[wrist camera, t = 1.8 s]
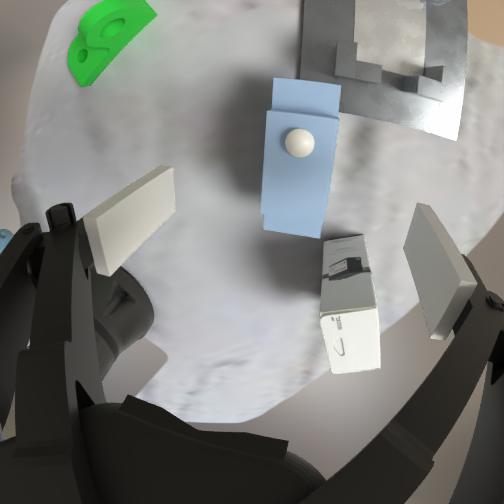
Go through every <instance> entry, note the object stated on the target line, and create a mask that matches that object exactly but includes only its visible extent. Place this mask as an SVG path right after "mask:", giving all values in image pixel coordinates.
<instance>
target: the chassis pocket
mask: <svg viewBox="0 0 504 504" xmlns="http://www.w3.org/2000/svg"><path fill="white" fill-rule="evenodd" d="M467 28H468V22H467V0H304V17H303V35H302V52H301V67H300V80H306V81H314V82H322V83H329V84H335V85H341V92H340V102H339V112H342V113H348V114H353V115H359V116H364V117H369V118H374V119H378V120H383V121H387V122H392V123H396V124H400V125H404V126H408V127H412V128H415V129H419V130H423V131H426V132H430V133H433V134H436V135H440V136H443V137H446V138H449V139H452V140H455V141H456V138H457V133H458V127H459V122H460V115H461V109H462V101H463V93H464V85H465V74H466V60H467V33H468V29H467Z"/></svg>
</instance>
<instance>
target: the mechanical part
mask: <svg viewBox="0 0 504 504" xmlns="http://www.w3.org/2000/svg"><path fill="white" fill-rule="evenodd" d="M156 16H157V14H156V13H155V12H154V10H153V9H152V8H151V7H150V6H149V4H148V3H147V2H146V1H145V0H104V1H102V2H100V3H98V4H96V5H95V6H93V7H92V8H91V9H90V10H89V11H88V12H87V13H86V14H85V15H84V16H83V17H82V19H81V21H80V23H79V26H78V31H79V34H78V35H77V37H76V38H75V39H74V41H73V42H72V44H71V46H70V49H69V52H68V65H69V68H70V70H71V72H72V74H73V75H74V77H75V78H76V80H77V81H78V83H79V84H80V86H81V87H84V86H90V85H92V83H93V82H94V81H95V80H96V78H97V77H98V76H99V75H100V74H101V72H102V71H103V70H104V69H105V68H106V67H107V66H108V64H109V63H110V62H111V61H112V60H113V59H114V58H115V57H116V55H117V54H118V53H119V52H120V51H121V50H122V49H123V48H124V47H125V46H126V45H127V44H128V43H129V42H130V41H131V40H132V39H133V38H134V37H135V36H136V35H137V34H138V33H139V32H140V31H141V30H142V29H143V28H144V27H145V26H146V25H147V24H148V23H149V22H150V21H152V20H153V19H154V18H155V17H156ZM87 54H88V56H87Z"/></svg>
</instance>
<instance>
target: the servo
mask: <svg viewBox="0 0 504 504" xmlns="http://www.w3.org/2000/svg"><path fill="white" fill-rule="evenodd" d="M340 92H341V85H335V84H329V83H322V82H314V81H306V80H296V79H286V78H274V79H273V95H272V109H270V110H267V116H266V132H265V148H264V164H263V179H262V195H261V210H260V213H262V214H264V226H263V230H269V231H276V232H282V233H288V234H294V235H301V236H307V237H313V238H319V239H320V234H321V229H322V223H324V220H325V214H326V208H327V202H328V196H329V190H330V184H331V177H332V170H333V163H334V156H335V149H336V141H337V134H338V125H339V118H338V112H339V102H340Z"/></svg>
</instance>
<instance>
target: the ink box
mask: <svg viewBox="0 0 504 504" xmlns="http://www.w3.org/2000/svg"><path fill="white" fill-rule="evenodd" d="M319 315H320V325H321V329H322V334H323V337H324V340H325V346H326V351H327V353H328V360H329V364H330V368H331V371H332V372H333V373H334V374H343V373H352V372H360V371H369V370H376V369H380V336H379V319H378V309H377V301H376V293H375V287H374V281H373V274H372V269H371V264H370V259H369V254H368V250H367V245H366V240H365V236H364V235H360V236H353V237H347V238H340V239H334V240H329V241H324V243H323V268H322V285H321V302H320V314H319Z"/></svg>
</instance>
